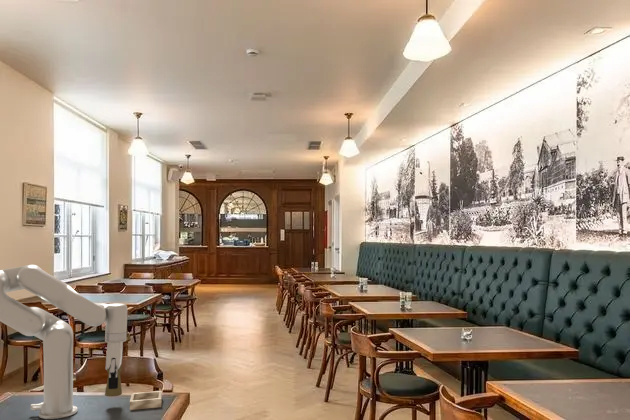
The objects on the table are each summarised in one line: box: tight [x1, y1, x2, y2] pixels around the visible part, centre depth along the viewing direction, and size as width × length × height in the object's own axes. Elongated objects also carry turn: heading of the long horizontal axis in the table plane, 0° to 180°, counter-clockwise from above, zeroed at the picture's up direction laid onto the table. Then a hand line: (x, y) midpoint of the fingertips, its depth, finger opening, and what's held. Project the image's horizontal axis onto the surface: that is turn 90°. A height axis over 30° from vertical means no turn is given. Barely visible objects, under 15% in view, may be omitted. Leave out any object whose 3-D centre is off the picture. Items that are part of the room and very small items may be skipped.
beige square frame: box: [129, 390, 163, 411], centre depth 206 cm, size 11×11×3 cm
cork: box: [104, 364, 123, 398], centre depth 205 cm, size 6×6×11 cm
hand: (113, 386), depth 205 cm, fingers closed on cork, 4 cm apart
